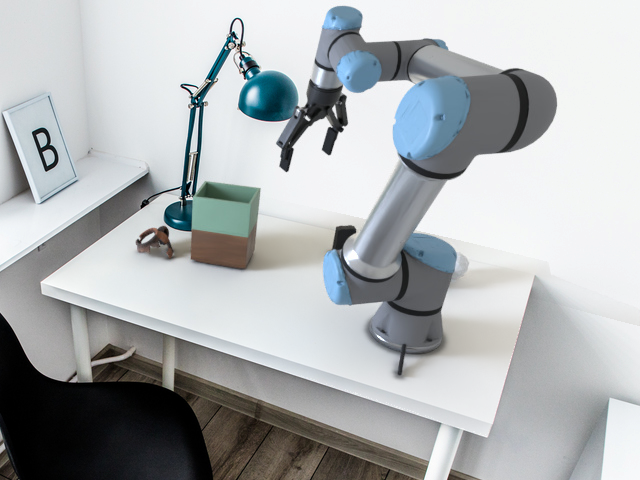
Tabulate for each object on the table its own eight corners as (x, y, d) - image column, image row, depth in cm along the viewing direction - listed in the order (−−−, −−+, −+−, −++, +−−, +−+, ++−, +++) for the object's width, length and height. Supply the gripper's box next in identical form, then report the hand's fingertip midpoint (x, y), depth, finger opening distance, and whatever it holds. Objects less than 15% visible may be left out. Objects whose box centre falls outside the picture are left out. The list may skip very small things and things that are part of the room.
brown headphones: (169, 265, 176) (154, 243, 172) (142, 272, 182) (127, 250, 178) (183, 237, 183) (169, 214, 178) (157, 243, 189) (142, 222, 184)
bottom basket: (244, 271, 171) (248, 237, 166) (190, 262, 176) (191, 229, 170) (254, 253, 180) (257, 219, 174) (201, 244, 184) (203, 212, 178)
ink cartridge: (349, 251, 179) (354, 224, 174) (351, 255, 177) (357, 228, 173) (331, 252, 179) (336, 225, 174) (333, 255, 177) (338, 229, 173)
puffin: (442, 250, 169) (418, 273, 163) (467, 244, 163) (443, 268, 157) (453, 272, 170) (430, 295, 165) (478, 267, 164) (455, 291, 159)
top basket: (247, 241, 166) (251, 204, 160) (191, 232, 171) (192, 196, 165) (257, 223, 174) (260, 187, 168) (203, 215, 179) (204, 180, 173)
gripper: (357, 59, 151) (333, 138, 168) (271, 88, 143) (256, 167, 160) (380, 74, 147) (353, 153, 164) (293, 104, 139) (274, 184, 156)
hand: (305, 160), depth 162 cm, fingers open, 13 cm apart
